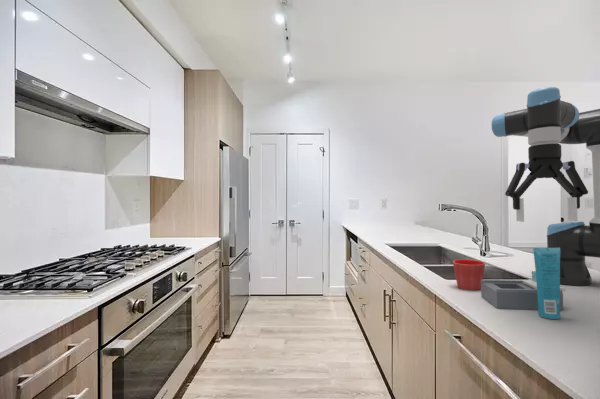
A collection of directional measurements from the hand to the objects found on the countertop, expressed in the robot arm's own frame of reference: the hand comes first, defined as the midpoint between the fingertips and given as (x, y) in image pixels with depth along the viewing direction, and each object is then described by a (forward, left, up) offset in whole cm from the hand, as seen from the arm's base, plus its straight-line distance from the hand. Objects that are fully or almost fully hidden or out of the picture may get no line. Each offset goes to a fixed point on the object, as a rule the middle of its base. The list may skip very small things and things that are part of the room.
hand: (546, 221), depth 96 cm
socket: (+2, -13, -27) cm, 29 cm away
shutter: (-5, -13, -21) cm, 25 cm away
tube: (0, 0, -27) cm, 27 cm away
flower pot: (+11, -31, -27) cm, 42 cm away
